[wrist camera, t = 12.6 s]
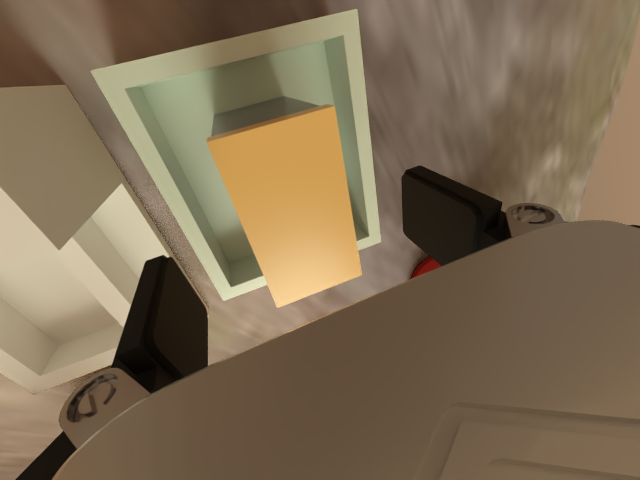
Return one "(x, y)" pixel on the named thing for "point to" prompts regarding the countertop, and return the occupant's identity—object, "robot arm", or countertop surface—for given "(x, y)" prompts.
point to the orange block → (289, 193)
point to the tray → (232, 93)
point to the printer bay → (64, 241)
